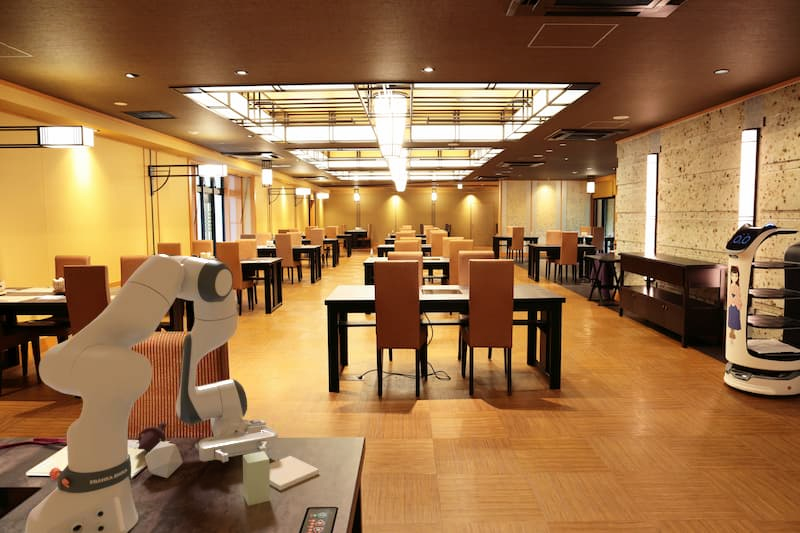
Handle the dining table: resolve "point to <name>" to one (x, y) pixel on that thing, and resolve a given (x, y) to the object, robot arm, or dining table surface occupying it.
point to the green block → (256, 478)
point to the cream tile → (290, 472)
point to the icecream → (151, 437)
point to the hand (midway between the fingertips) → (244, 455)
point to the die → (163, 459)
